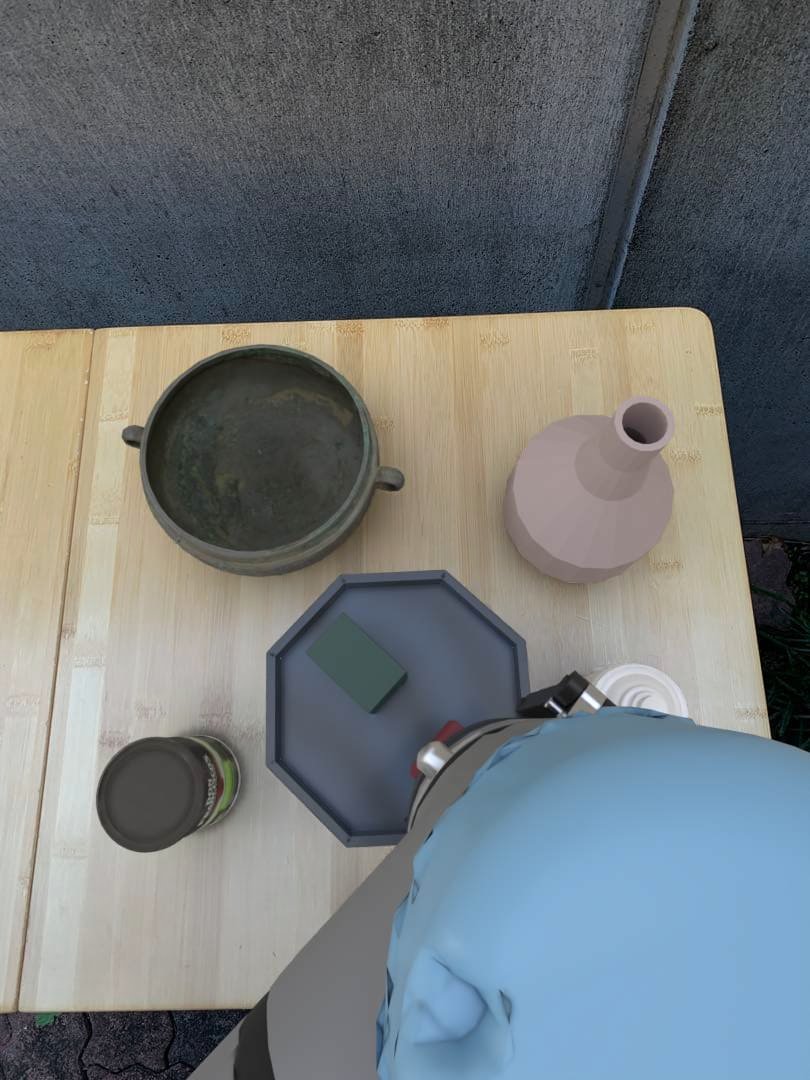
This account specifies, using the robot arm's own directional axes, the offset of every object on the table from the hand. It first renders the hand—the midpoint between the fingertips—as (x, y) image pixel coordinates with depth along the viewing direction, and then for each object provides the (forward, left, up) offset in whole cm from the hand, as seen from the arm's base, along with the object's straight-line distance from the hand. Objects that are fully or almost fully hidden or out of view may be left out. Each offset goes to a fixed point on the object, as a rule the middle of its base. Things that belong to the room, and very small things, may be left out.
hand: (468, 778), depth 44 cm
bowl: (+10, +36, -36) cm, 52 cm away
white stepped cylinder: (+15, -10, -36) cm, 40 cm away
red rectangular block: (0, 0, -2) cm, 2 cm away
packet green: (+1, +11, -10) cm, 15 cm away
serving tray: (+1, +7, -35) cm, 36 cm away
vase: (+31, +7, -36) cm, 47 cm away
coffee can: (-21, +19, -36) cm, 46 cm away
